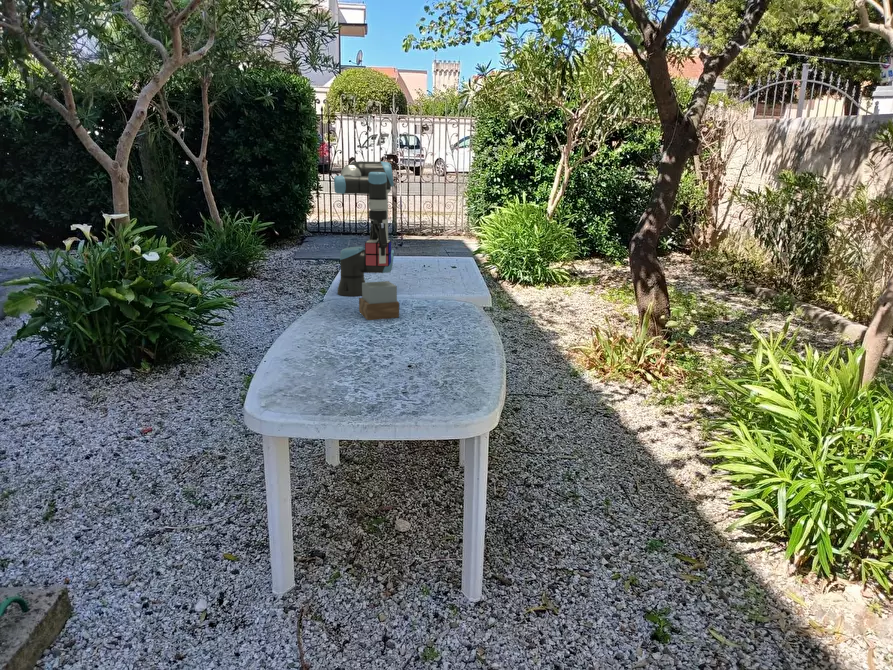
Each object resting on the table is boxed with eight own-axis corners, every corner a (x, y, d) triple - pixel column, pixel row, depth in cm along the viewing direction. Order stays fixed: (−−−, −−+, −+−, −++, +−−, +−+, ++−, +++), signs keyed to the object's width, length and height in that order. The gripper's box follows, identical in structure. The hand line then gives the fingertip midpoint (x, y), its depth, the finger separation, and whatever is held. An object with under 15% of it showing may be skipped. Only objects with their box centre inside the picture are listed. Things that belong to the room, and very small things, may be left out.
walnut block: (359, 313, 281) (359, 298, 279) (389, 311, 286) (389, 296, 284) (367, 320, 268) (367, 304, 267) (399, 318, 274) (399, 302, 272)
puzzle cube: (388, 266, 267) (388, 242, 264) (365, 266, 267) (364, 242, 264) (391, 263, 276) (391, 240, 274) (368, 262, 276) (368, 239, 274)
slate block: (362, 298, 278) (361, 282, 277) (388, 296, 283) (388, 281, 281) (369, 304, 268) (369, 287, 266) (396, 302, 272) (396, 286, 270)
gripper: (361, 207, 275) (362, 257, 281) (376, 212, 253) (377, 265, 259) (378, 207, 278) (379, 256, 283) (394, 212, 256) (395, 265, 262)
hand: (378, 261), depth 271 cm, fingers closed on puzzle cube, 12 cm apart
